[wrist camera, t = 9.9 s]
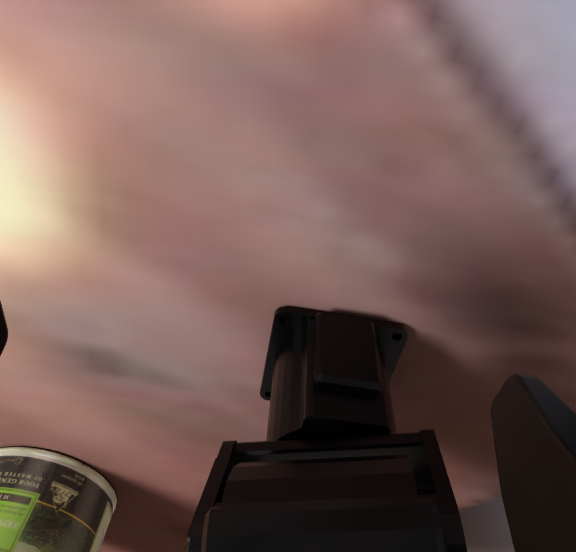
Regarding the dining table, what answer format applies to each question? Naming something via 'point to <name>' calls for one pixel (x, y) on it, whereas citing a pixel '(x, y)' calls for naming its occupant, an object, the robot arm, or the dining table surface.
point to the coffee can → (51, 502)
